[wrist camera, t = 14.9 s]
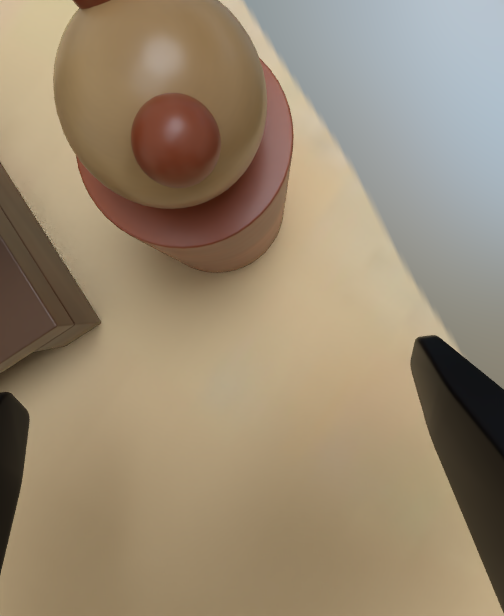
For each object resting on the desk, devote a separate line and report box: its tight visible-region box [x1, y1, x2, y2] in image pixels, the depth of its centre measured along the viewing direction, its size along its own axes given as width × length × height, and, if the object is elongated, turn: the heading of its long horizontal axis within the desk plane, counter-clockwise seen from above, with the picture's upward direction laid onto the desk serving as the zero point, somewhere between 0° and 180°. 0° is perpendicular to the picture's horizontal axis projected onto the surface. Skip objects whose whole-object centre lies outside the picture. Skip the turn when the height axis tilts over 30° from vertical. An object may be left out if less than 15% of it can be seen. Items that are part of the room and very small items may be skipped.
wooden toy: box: [53, 0, 293, 273], centre depth 11 cm, size 5×5×10 cm
